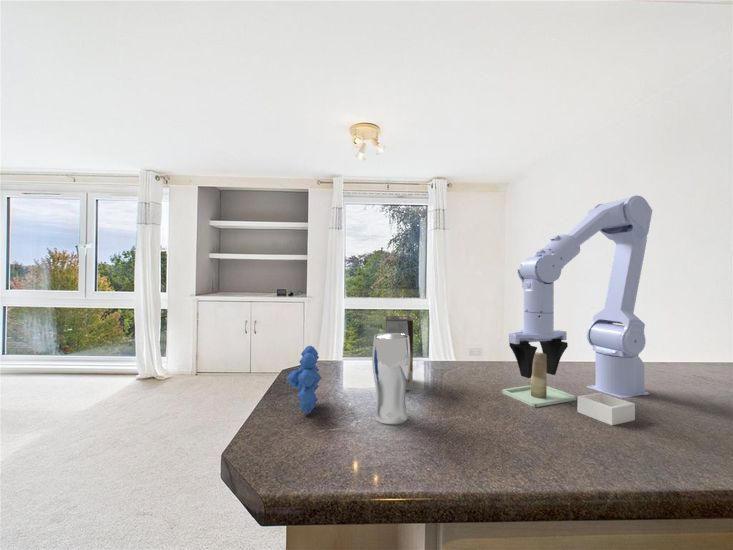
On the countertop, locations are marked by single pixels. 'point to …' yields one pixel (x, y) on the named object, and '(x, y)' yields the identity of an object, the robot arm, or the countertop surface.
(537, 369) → the dowel
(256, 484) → the countertop surface
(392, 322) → the coffee box
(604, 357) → the robot arm
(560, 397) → the tray
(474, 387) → the countertop surface
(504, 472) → the countertop surface
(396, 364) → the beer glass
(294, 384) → the grapes
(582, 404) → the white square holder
